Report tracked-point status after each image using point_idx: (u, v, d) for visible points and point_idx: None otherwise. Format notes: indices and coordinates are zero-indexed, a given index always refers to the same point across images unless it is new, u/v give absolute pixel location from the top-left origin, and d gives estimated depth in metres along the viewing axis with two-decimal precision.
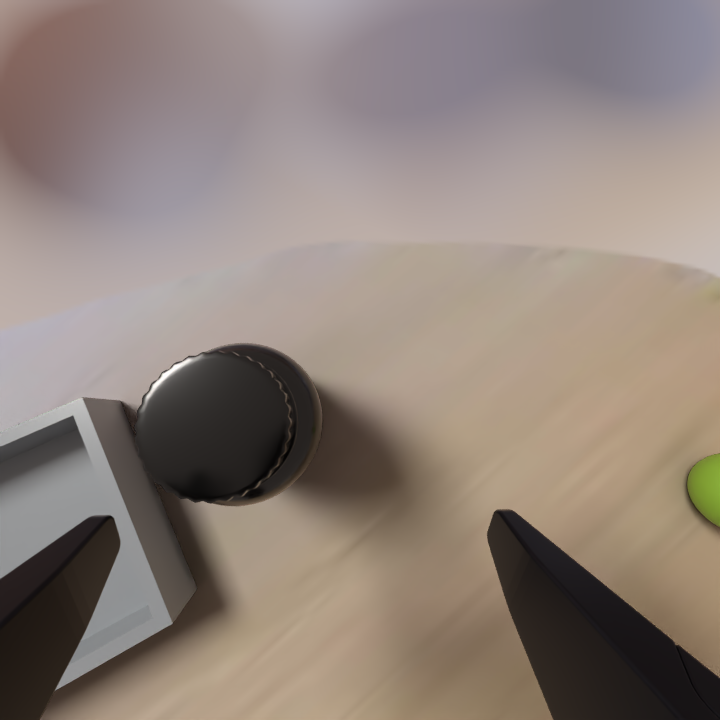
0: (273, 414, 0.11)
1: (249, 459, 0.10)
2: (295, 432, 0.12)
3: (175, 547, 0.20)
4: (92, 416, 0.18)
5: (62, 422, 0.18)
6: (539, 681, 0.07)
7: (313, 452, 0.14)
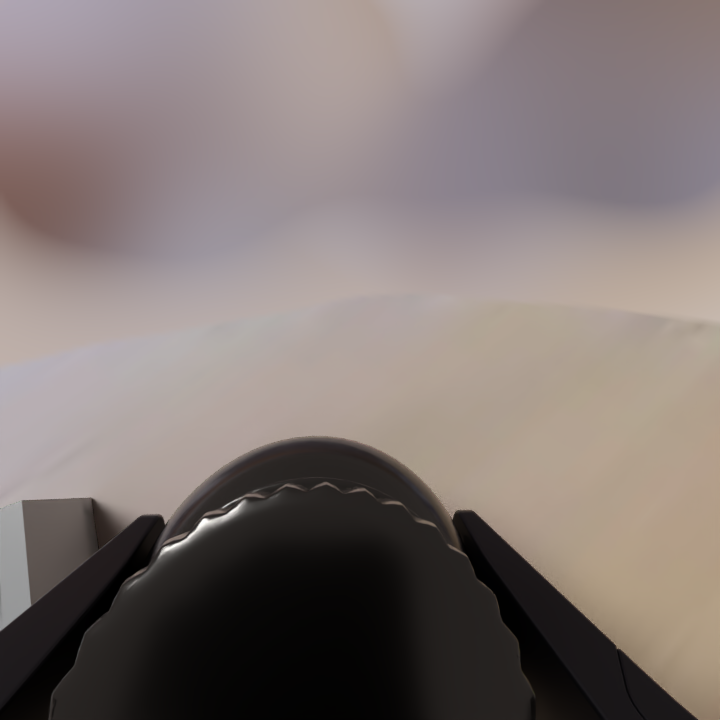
0: None
1: None
2: None
3: None
4: (30, 536, 0.10)
5: None
6: None
7: None
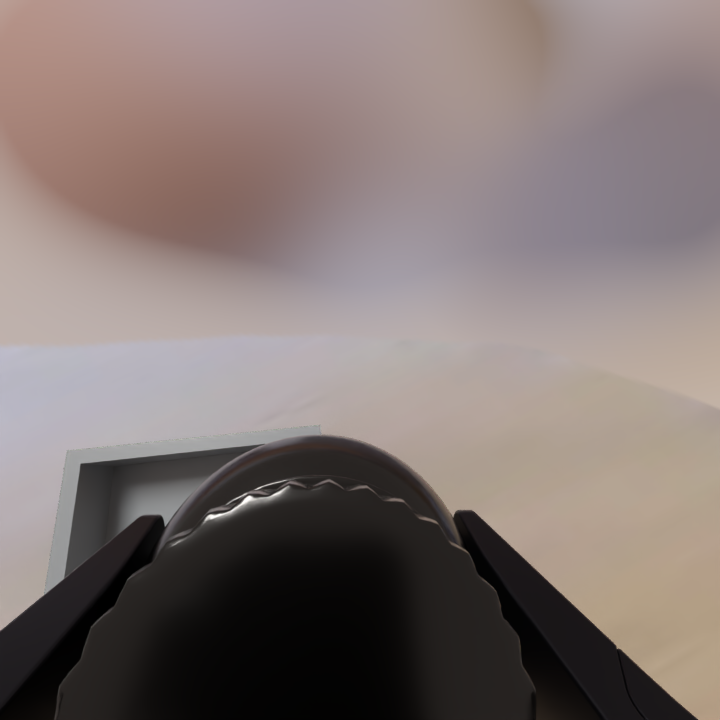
0: (494, 715, 0.03)
1: None
2: None
3: None
4: None
5: None
6: None
7: None
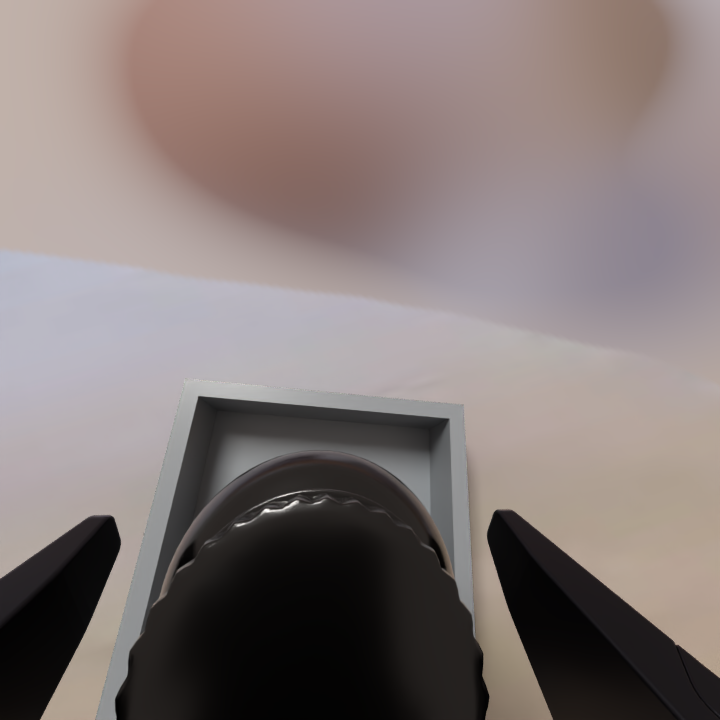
0: (450, 672, 0.04)
1: None
2: None
3: None
4: None
5: (427, 418, 0.16)
6: (539, 681, 0.07)
7: None
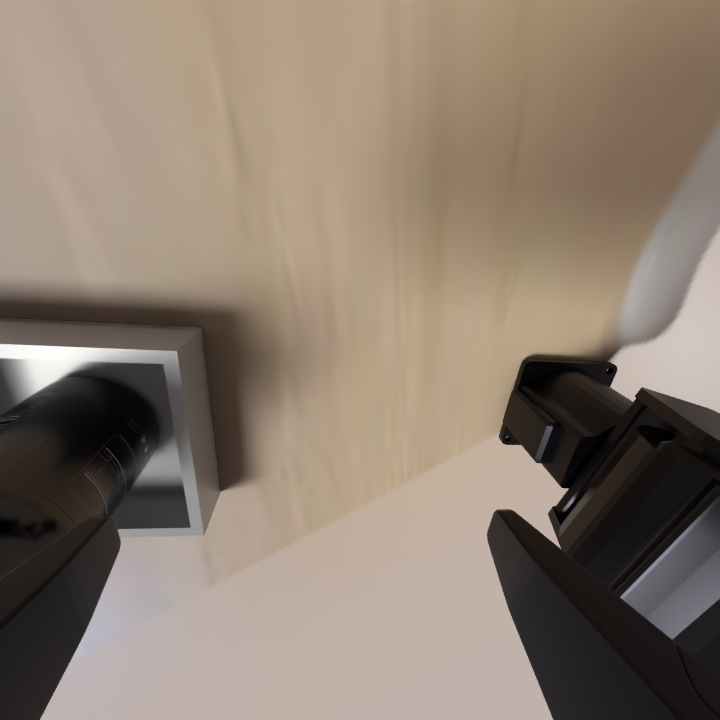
0: None
1: None
2: None
3: (143, 327, 0.18)
4: None
5: None
6: (539, 681, 0.07)
7: None
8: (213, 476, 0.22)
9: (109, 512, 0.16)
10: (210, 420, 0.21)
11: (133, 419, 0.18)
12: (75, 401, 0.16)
